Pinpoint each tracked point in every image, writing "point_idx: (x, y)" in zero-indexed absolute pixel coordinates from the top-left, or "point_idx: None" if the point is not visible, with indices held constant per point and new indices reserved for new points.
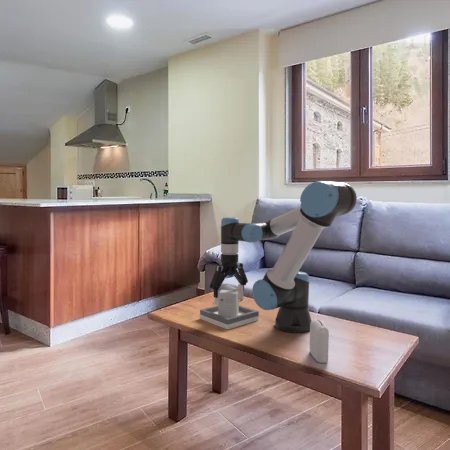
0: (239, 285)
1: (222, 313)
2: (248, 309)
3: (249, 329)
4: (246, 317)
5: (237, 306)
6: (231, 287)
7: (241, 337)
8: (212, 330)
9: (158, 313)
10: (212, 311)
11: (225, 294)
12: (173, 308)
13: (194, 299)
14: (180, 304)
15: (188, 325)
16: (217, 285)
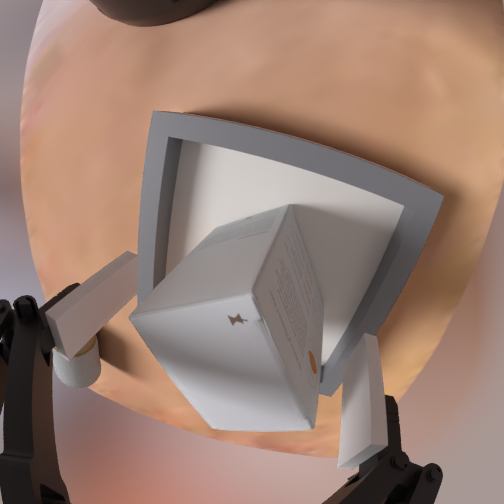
0: (67, 344)
1: (317, 294)
2: (161, 185)
3: (351, 74)
4: (271, 131)
5: (235, 235)
6: (61, 366)
7: (469, 75)
8: (457, 247)
9: (336, 451)
10: None
11: (298, 380)
12: (272, 444)
13: (164, 421)
14: (227, 439)
15: (425, 358)
16: (383, 495)
